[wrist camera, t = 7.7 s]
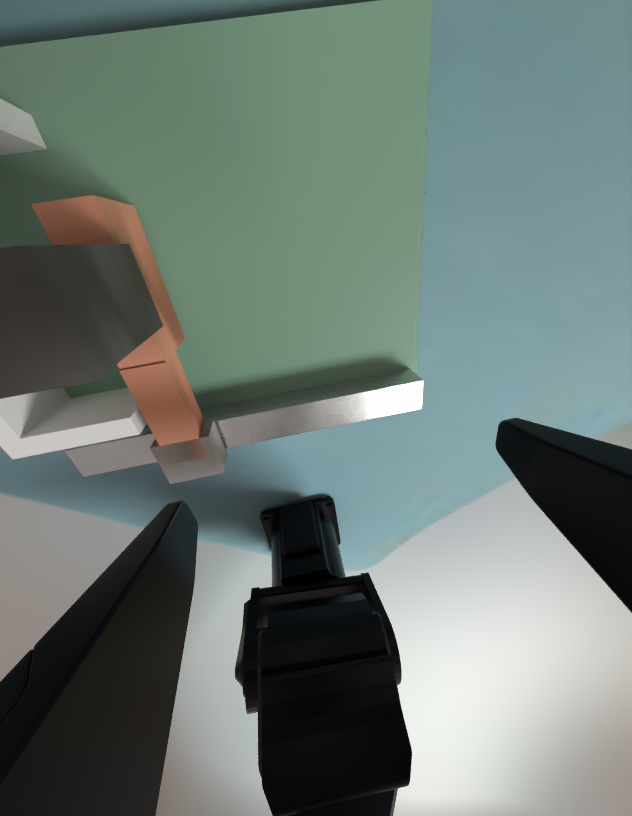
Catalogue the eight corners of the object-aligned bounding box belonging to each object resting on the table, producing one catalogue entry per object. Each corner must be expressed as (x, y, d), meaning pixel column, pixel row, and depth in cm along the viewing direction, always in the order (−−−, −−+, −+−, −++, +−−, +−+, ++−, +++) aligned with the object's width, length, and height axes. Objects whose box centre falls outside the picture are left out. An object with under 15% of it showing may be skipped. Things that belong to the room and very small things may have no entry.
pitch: (409, 392, 21) (414, 399, 20) (104, 453, 20) (96, 462, 19) (420, 11, 12) (432, -6, 11) (-148, 83, 11) (-184, 69, 10)
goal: (164, 396, 17) (139, 434, 14) (63, 415, 17) (12, 459, 14) (31, 114, 11) (-75, 58, 8) (-136, 137, 11) (-324, 88, 7)
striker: (231, 435, 19) (206, 566, 12) (185, 444, 19) (130, 583, 11) (145, 204, 13) (-44, 146, 5) (76, 215, 12) (-234, 172, 5)
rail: (408, 394, 20) (421, 408, 18) (100, 455, 19) (83, 477, 17) (409, 367, 19) (423, 380, 17) (83, 431, 18) (64, 451, 16)
